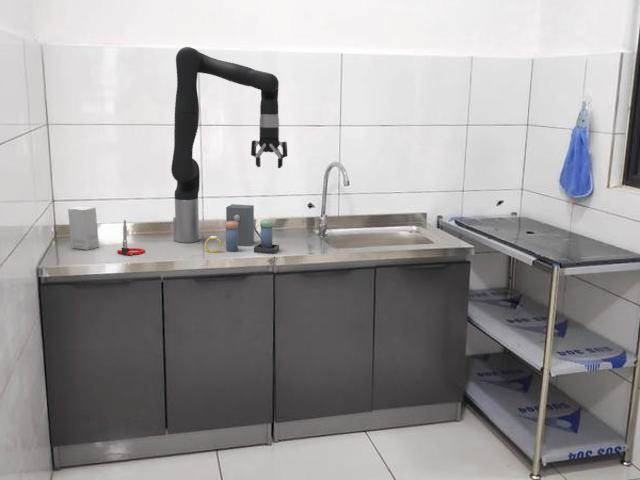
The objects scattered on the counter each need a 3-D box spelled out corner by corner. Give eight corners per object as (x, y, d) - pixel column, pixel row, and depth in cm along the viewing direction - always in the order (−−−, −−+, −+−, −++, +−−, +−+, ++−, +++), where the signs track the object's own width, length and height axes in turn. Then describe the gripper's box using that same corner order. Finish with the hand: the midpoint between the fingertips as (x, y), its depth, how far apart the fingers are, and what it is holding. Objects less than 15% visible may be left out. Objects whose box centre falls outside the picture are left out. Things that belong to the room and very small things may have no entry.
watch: (221, 251, 251) (222, 236, 250) (220, 253, 249) (221, 238, 248) (205, 250, 251) (206, 235, 250) (204, 252, 248) (205, 236, 247)
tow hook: (133, 250, 252) (115, 253, 244) (133, 216, 250) (114, 219, 242) (149, 253, 248) (131, 256, 240) (150, 219, 246) (131, 221, 238)
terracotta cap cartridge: (223, 251, 251) (223, 223, 248) (228, 248, 255) (227, 220, 253) (235, 252, 250) (235, 223, 247) (240, 249, 254) (239, 221, 252)
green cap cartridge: (258, 250, 250) (258, 221, 248) (262, 247, 255) (262, 219, 253) (270, 250, 249) (270, 222, 247) (274, 248, 254) (274, 220, 252)
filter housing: (225, 244, 262) (225, 207, 258) (232, 240, 269) (232, 204, 266) (247, 246, 260) (247, 208, 256) (254, 241, 267) (253, 205, 264)
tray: (253, 252, 250) (253, 247, 249) (259, 248, 256) (259, 243, 256) (274, 254, 248) (274, 248, 248) (279, 249, 255) (279, 244, 254)
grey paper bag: (99, 247, 254) (97, 207, 250) (86, 250, 248) (84, 209, 244) (82, 244, 257) (80, 205, 254) (69, 248, 251) (67, 207, 248)
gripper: (248, 126, 257) (249, 167, 260) (284, 127, 254) (283, 169, 257) (254, 125, 264) (254, 165, 267) (289, 126, 261) (288, 167, 264)
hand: (269, 167), depth 262 cm, fingers open, 8 cm apart
